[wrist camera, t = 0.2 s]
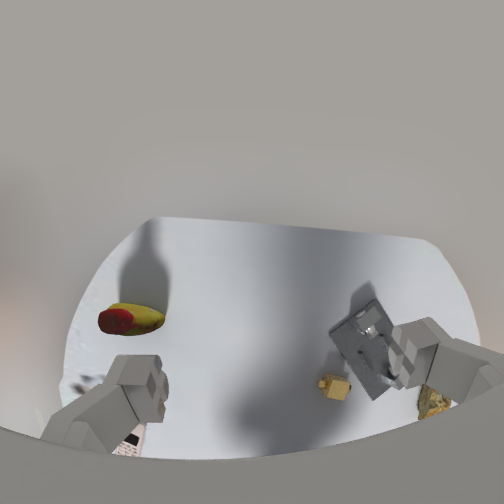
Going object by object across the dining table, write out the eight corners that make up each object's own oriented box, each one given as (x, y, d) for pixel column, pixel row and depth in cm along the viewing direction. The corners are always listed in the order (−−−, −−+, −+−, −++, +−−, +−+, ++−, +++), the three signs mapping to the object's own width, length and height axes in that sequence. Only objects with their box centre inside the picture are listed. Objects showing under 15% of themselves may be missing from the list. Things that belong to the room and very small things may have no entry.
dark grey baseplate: (413, 365, 61) (423, 369, 56) (372, 400, 60) (380, 407, 55) (373, 298, 63) (382, 297, 59) (328, 333, 62) (334, 335, 57)
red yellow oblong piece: (170, 306, 63) (138, 309, 43) (168, 335, 62) (136, 350, 42) (120, 300, 62) (74, 298, 43) (118, 328, 62) (72, 337, 42)
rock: (414, 380, 65) (429, 371, 57) (441, 379, 63) (458, 369, 55) (412, 423, 58) (428, 419, 50) (441, 420, 57) (459, 415, 49)
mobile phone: (105, 488, 49) (118, 414, 53) (113, 478, 55) (127, 405, 59) (127, 498, 49) (143, 425, 53) (134, 487, 55) (151, 415, 59)
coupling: (348, 378, 61) (357, 384, 55) (343, 394, 60) (350, 401, 55) (319, 372, 61) (325, 378, 55) (313, 388, 60) (319, 396, 55)
